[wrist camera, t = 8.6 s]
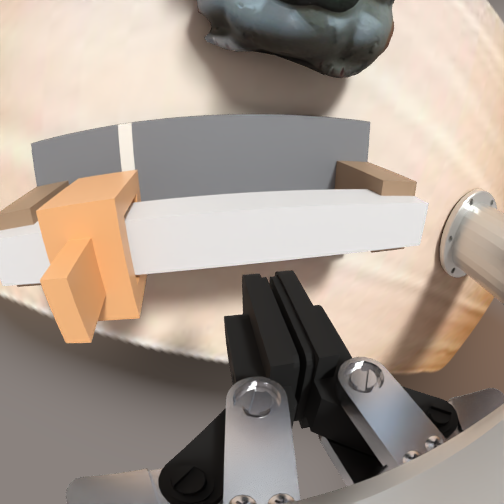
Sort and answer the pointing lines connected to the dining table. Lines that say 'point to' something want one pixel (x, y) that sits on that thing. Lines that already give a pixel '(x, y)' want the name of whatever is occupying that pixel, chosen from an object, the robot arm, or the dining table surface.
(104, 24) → the dining table surface
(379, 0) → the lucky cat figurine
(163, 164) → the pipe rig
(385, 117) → the dining table surface
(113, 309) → the orange stepped block
